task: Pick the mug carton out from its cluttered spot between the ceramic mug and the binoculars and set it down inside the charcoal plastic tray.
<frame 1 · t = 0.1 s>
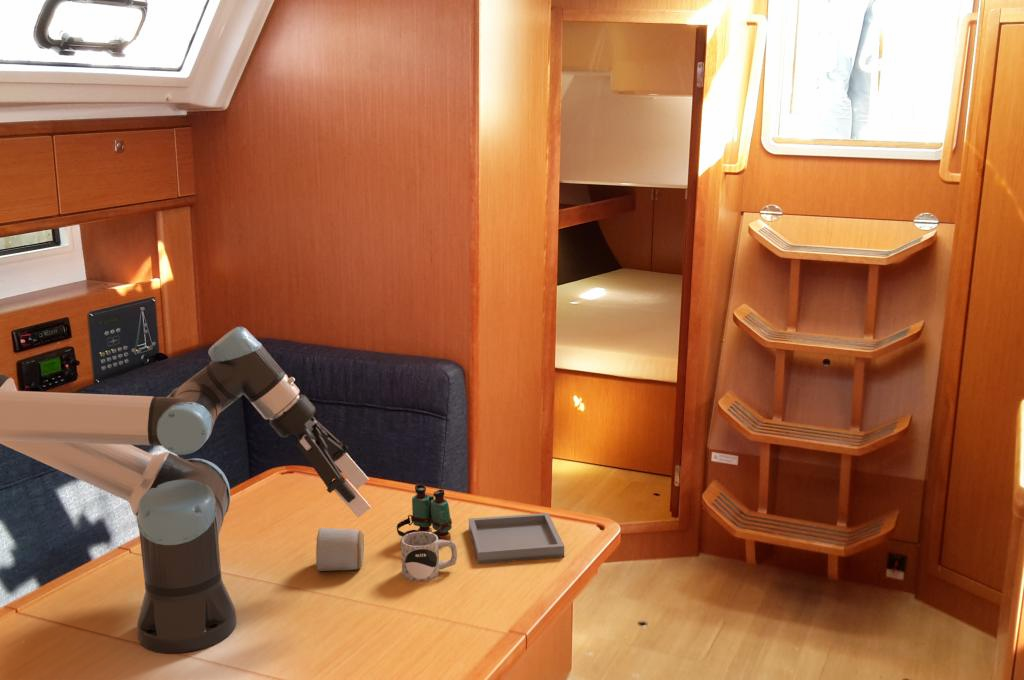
hand: (363, 497, 180), 15 cm above the table, tool tilted 35°, fingers open, 13 cm apart
ceramic mug: (340, 566, 189), on the table
tray: (515, 542, 197), on the table
mug: (430, 573, 185), on the table
binoculars: (425, 544, 198), on the table
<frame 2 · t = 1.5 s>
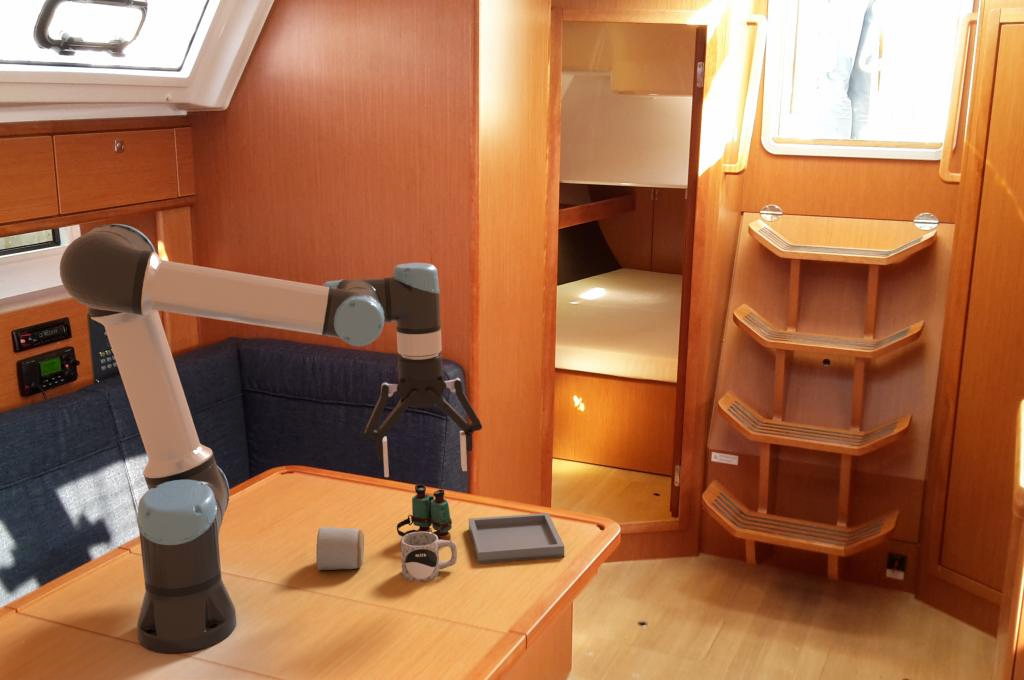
hand: (425, 471, 181), 19 cm above the table, tool pointing down, fingers open, 13 cm apart
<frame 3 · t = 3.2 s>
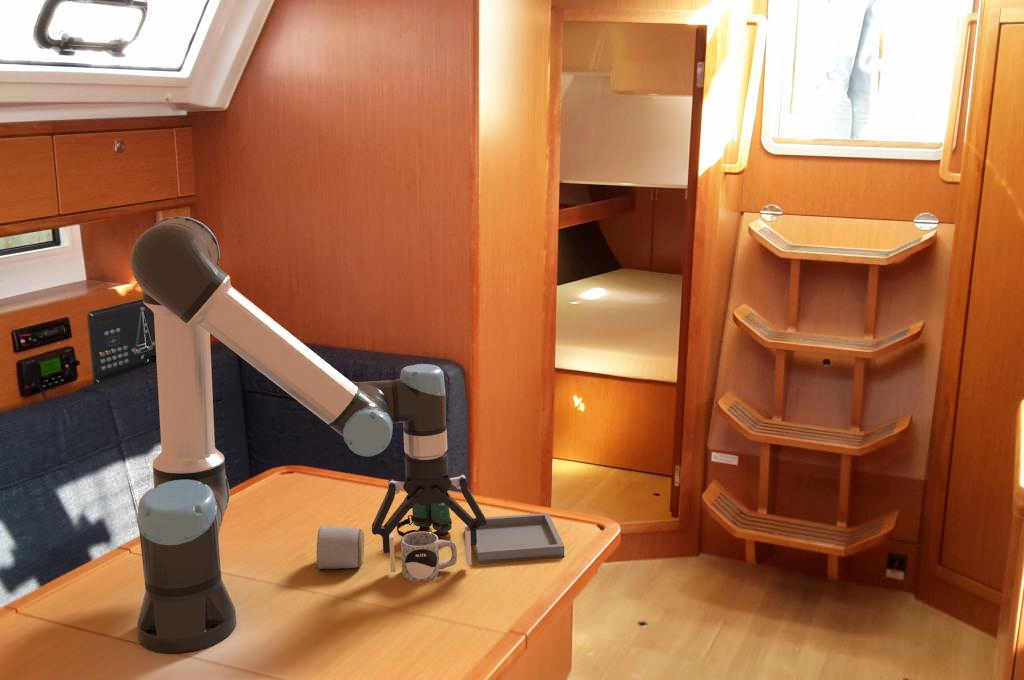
hand: (430, 565, 185), 1 cm above the table, tool pointing down, fingers open, 13 cm apart
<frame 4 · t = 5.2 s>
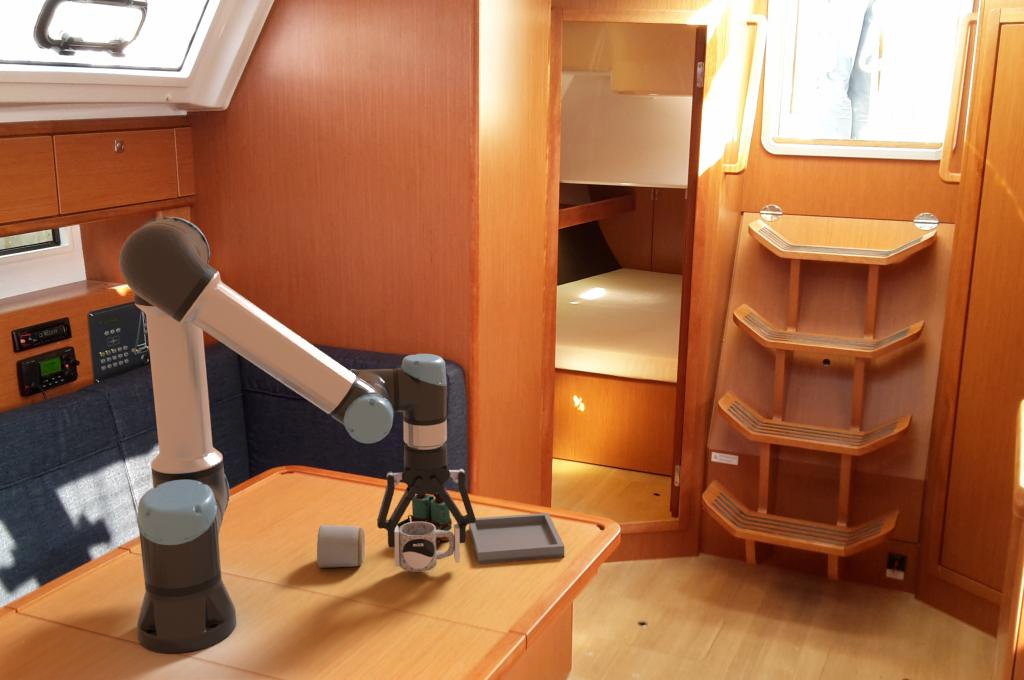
hand: (427, 561, 185), 2 cm above the table, tool pointing down, fingers closed on mug, 10 cm apart
mug: (427, 563, 185), point 2 cm above the table, touching gripper
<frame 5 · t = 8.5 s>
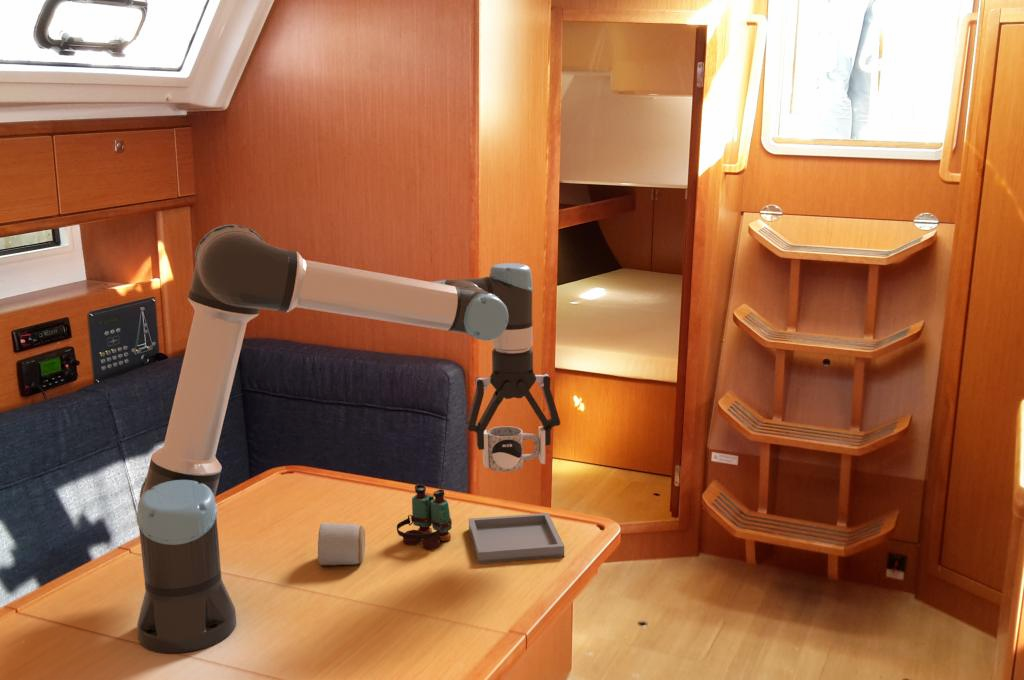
hand: (514, 463, 194), 16 cm above the table, tool pointing down, fingers closed on mug, 10 cm apart
mug: (514, 465, 194), point 16 cm above the table, touching gripper
when the fingers open (2 cm above the table, at t = 11.7 s): mug drops 2 cm, resting on tray.
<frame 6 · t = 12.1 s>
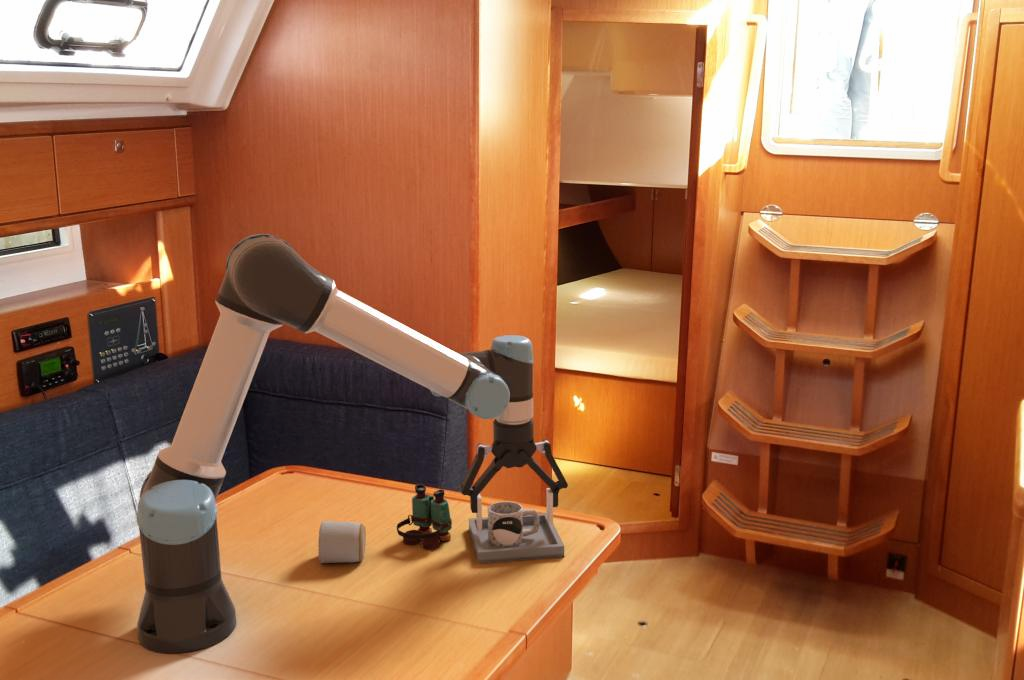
hand: (514, 525, 196), 3 cm above the table, tool pointing down, fingers open, 13 cm apart
mug: (514, 540, 197), resting on tray
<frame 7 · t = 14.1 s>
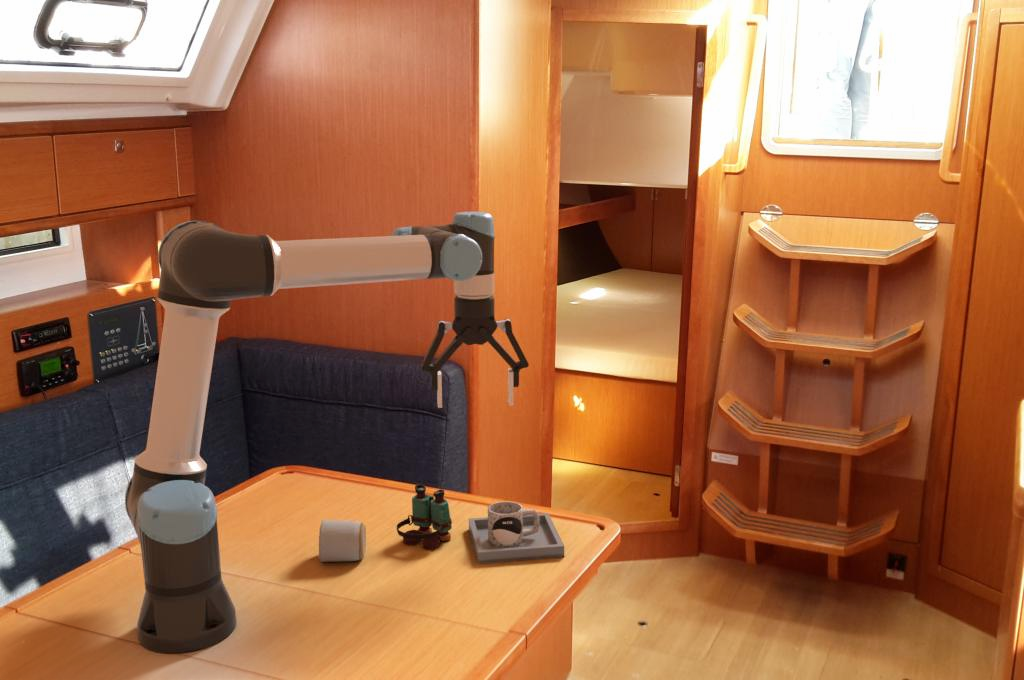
hand: (475, 404, 197), 26 cm above the table, tool pointing down, fingers open, 13 cm apart
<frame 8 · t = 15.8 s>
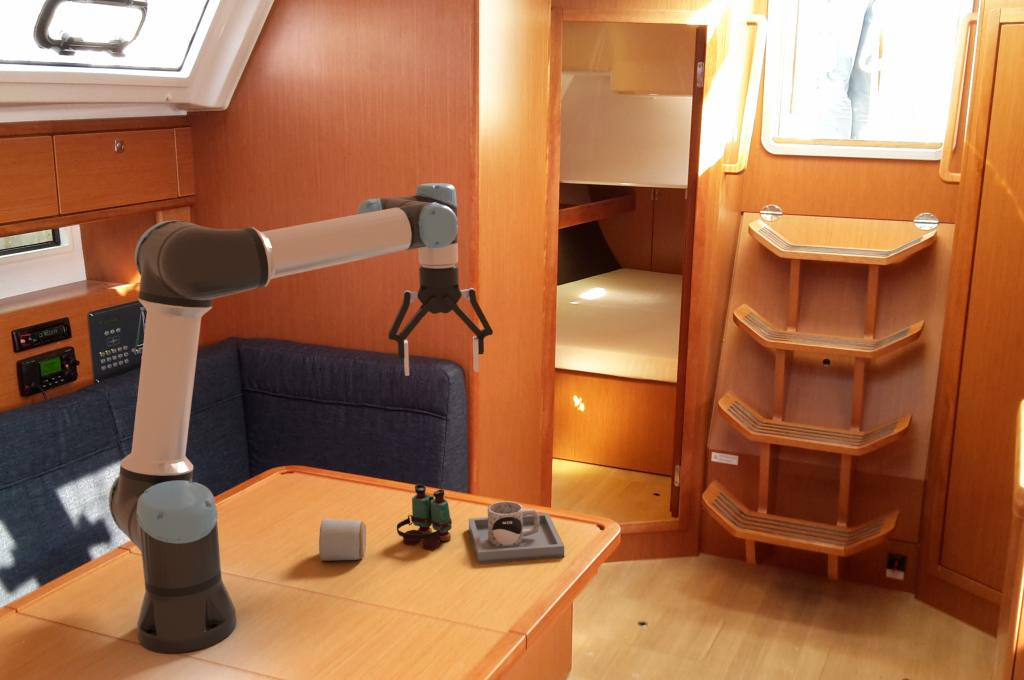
hand: (441, 372, 202), 31 cm above the table, tool pointing down, fingers open, 13 cm apart
at the end: mug inside the target area on the tray (0.2 cm from its centre), point 0.4 cm above the tray's base; mug tilted 0°; binoculars moved 0.3 cm from its start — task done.
